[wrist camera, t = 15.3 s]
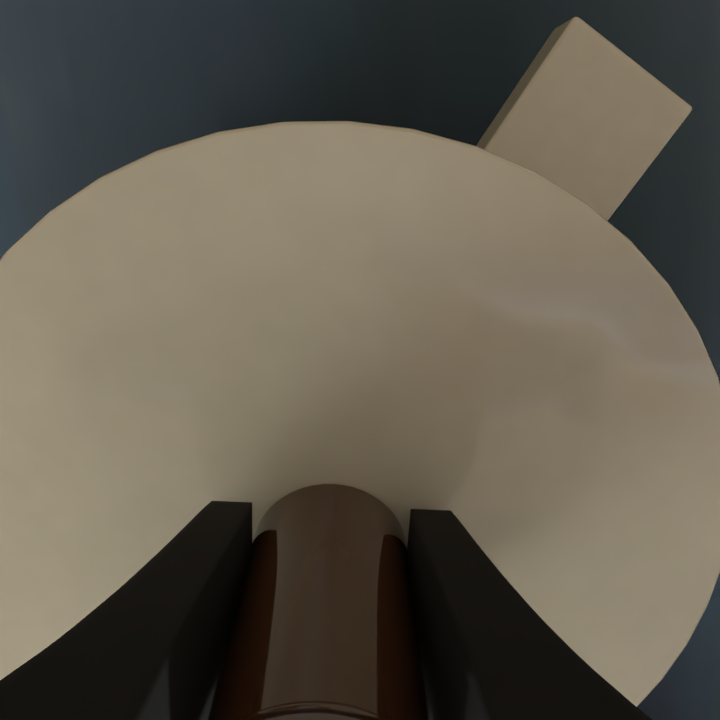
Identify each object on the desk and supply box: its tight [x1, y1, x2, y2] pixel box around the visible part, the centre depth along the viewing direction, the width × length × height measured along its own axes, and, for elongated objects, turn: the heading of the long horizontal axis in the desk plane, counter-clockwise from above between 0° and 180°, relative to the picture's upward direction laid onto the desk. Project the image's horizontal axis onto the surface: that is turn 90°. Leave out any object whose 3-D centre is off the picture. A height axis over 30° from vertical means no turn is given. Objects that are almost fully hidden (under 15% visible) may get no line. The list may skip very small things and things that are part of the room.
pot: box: [476, 17, 692, 221], centre depth 14 cm, size 12×17×6 cm
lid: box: [0, 121, 720, 720], centre depth 8 cm, size 13×13×5 cm
